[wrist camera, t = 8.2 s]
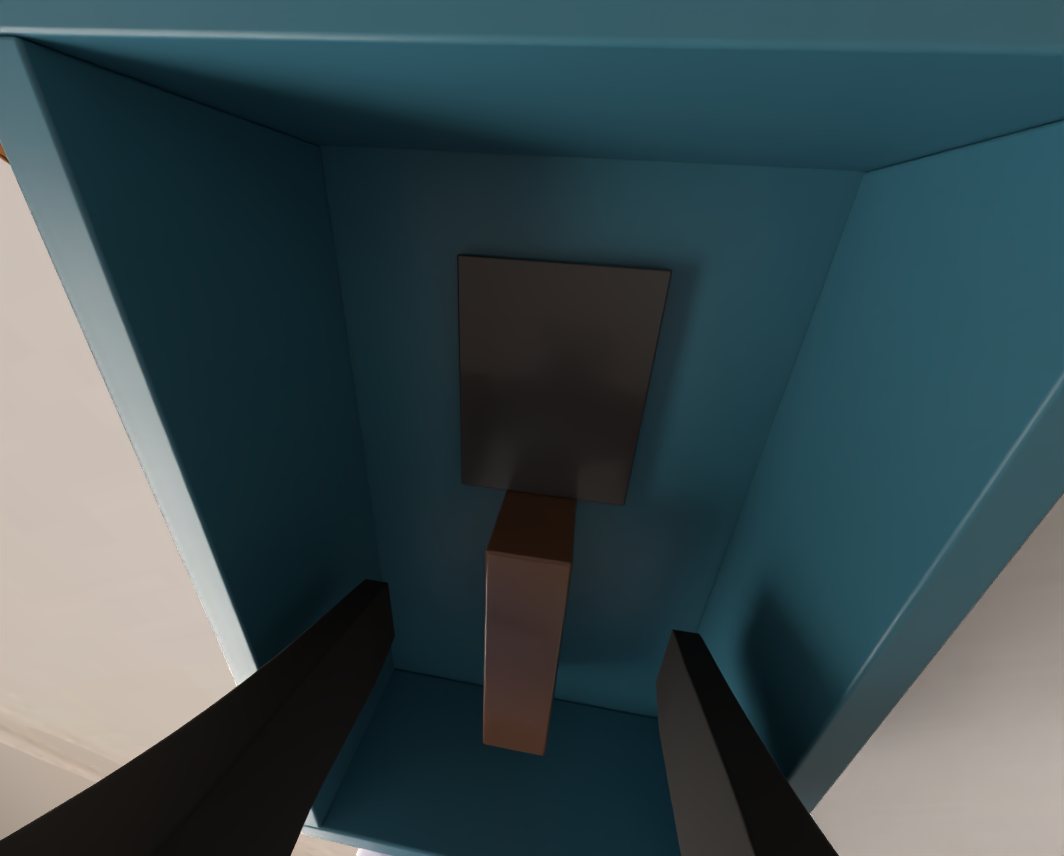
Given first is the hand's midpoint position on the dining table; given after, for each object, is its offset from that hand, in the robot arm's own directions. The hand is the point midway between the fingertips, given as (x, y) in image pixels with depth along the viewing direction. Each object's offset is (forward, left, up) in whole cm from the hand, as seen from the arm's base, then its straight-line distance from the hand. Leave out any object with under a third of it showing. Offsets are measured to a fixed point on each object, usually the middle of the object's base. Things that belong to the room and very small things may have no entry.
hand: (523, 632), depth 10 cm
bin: (+2, 0, -3) cm, 4 cm away
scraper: (+2, 0, -3) cm, 3 cm away
